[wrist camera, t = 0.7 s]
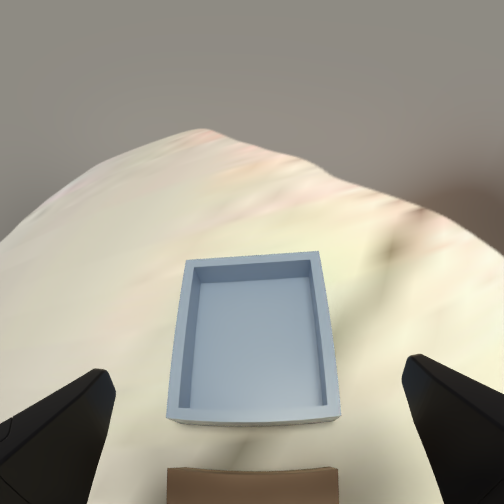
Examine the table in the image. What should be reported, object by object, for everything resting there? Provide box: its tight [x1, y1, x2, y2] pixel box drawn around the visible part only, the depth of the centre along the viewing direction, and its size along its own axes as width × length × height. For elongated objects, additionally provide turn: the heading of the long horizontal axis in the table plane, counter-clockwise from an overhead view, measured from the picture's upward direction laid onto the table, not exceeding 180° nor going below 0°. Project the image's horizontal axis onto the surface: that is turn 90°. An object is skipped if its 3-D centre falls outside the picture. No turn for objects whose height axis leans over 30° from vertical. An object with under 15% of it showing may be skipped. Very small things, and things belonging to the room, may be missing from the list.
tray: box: [166, 251, 341, 426], centre depth 21 cm, size 13×11×3 cm
